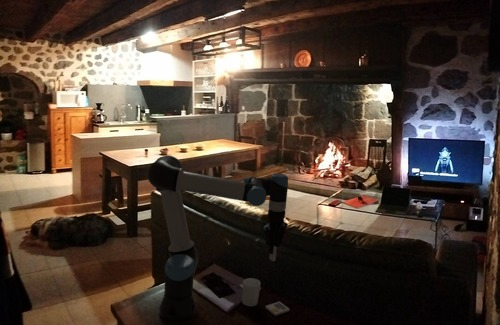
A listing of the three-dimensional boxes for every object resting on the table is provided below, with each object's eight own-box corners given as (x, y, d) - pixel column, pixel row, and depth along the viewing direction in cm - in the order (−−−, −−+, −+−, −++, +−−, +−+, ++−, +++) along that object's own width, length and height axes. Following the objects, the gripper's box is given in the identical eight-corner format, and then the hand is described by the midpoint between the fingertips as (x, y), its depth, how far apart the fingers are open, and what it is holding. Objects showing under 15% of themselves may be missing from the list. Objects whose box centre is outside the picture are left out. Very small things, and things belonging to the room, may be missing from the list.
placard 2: (265, 307, 178) (265, 305, 178) (279, 303, 183) (279, 301, 183) (275, 315, 173) (275, 313, 172) (289, 311, 177) (289, 308, 177)
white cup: (256, 308, 177) (258, 288, 175) (239, 305, 179) (240, 284, 177) (260, 300, 184) (262, 280, 183) (243, 296, 186) (245, 276, 184)
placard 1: (239, 286, 195) (239, 284, 195) (252, 283, 200) (252, 281, 199) (247, 293, 189) (247, 291, 189) (260, 289, 194) (261, 287, 194)
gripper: (271, 213, 168) (266, 266, 173) (293, 210, 176) (288, 260, 181) (260, 208, 174) (255, 259, 179) (282, 205, 182) (277, 253, 186)
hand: (272, 259), depth 180 cm, fingers closed
